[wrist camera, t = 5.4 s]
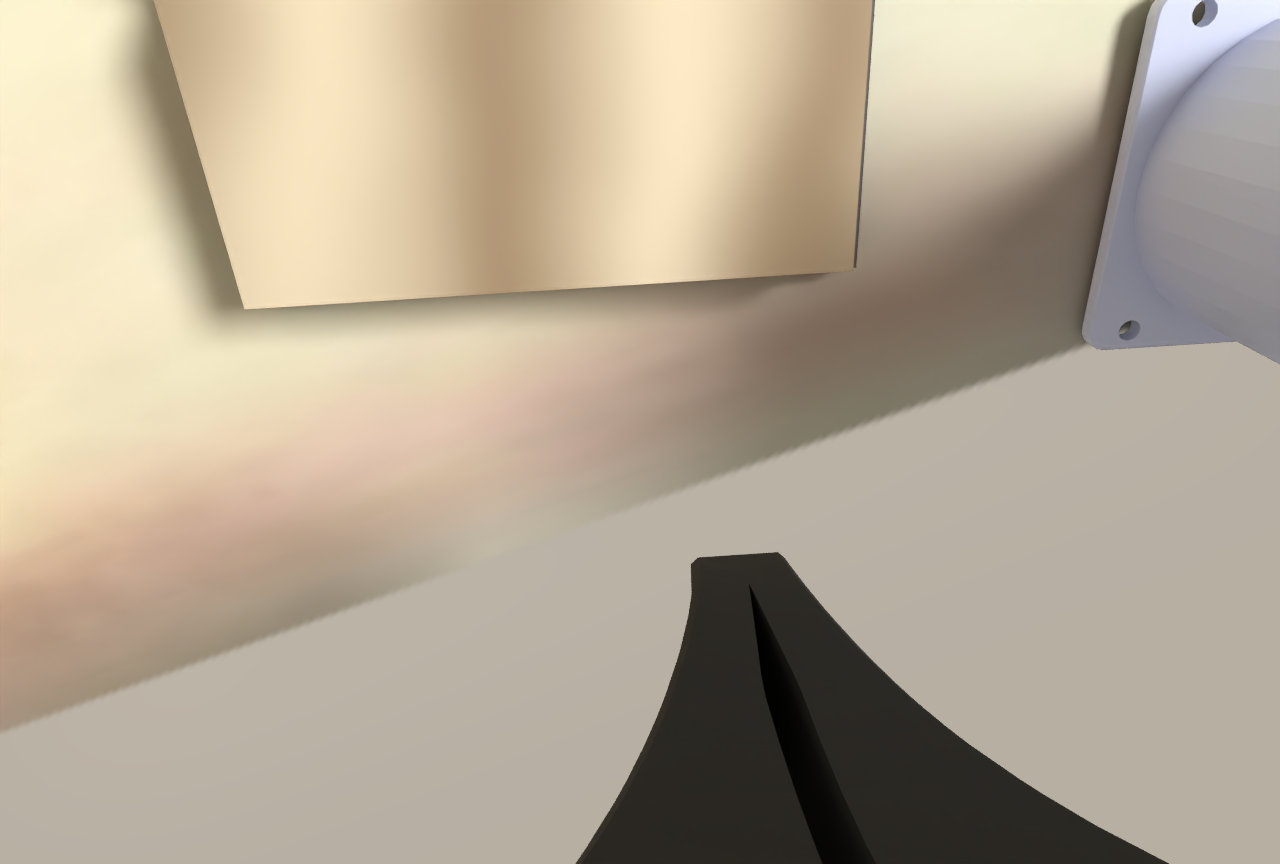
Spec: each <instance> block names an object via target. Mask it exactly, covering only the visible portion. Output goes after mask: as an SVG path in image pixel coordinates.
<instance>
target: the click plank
mask: <svg viewBox="0 0 1280 864" xmlns="http://www.w3.org/2000/svg"><path fill="white" fill-rule="evenodd" d="M154 3H155V7H156V10H157V14H158V17H159V20H160V24H161V27H162V31H163V34H164V38H165V41H166V44H167V48H168V51H169V55H170V58H171V61H172V65H173V68H174V72H175V75H176V78H177V82H178V85H179V89H180V92H181V95H182V99H183V102H184V106H185V109H186V112H187V116H188V119H189V123H190V126H191V129H192V133H193V136H194V140H195V143H196V146H197V150H198V153H199V157H200V160H201V163H202V167H203V170H204V174H205V177H206V180H207V184H208V187H209V191H210V194H211V197H212V201H213V204H214V208H215V211H216V214H217V218H218V221H219V225H220V228H221V231H222V235H223V238H224V242H225V245H226V249H227V252H228V255H229V259H230V262H231V266H232V269H233V272H234V276H235V279H236V283H237V286H238V289H239V293H240V296H241V300H242V303H243V306H244V309H260V308H276V307H291V306H307V305H323V304H339V303H355V302H371V301H386V300H402V299H418V298H434V297H450V296H466V295H481V294H497V293H513V292H529V291H545V290H561V289H576V288H592V287H608V286H624V285H640V284H656V283H671V282H687V281H703V280H719V279H735V278H750V277H766V276H782V275H798V274H814V273H830V272H845V271H853V266H854V252H855V238H856V224H857V210H858V196H859V182H860V168H861V154H862V140H863V126H864V112H865V98H866V84H867V70H868V56H869V42H870V28H871V14H872V0H154Z"/></svg>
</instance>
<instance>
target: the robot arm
mask: <svg viewBox="0 0 1280 864" xmlns="http://www.w3.org/2000/svg"><path fill="white" fill-rule="evenodd" d="M1201 1H1203V2H1204V4H1205V14H1204V16H1203V18H1202V20H1201V21H1200V22H1199V23H1198V24H1196V25H1195V24H1194V23H1193V22H1192V13H1193V11H1194V9H1195V6H1196V5H1198V4H1199V3H1200V2H1201ZM1128 321H1131V326H1130V328H1129V329H1128V330H1127V331H1126V332H1125V333H1123V334H1120V335H1119V330H1120V328H1121V326H1122V325H1123V324H1124V323H1126V322H1128ZM1082 336H1083V338H1084V340H1085V341H1086V342H1087V343H1089V344H1090V345H1092V346H1093V347H1095V348H1097V349H1101V350H1108V349H1109V350H1110V349H1125V348H1140V347H1156V346H1172V345H1187V344H1203V343H1218V342H1234V341H1237V342H1239V343H1241V344H1243V345H1245V346H1247V347H1249V348H1250V349H1252V350H1254V351H1256V352H1258V353H1260V354H1262V355H1264V356H1266V357H1267V358H1269V359H1271V360H1273V361H1275V362H1277V363H1279V364H1280V0H1155V1H1154V3H1153V4H1152V5H1151V7H1150V10H1149V13H1148V15H1147V20H1146V24H1145V29H1144V34H1143V39H1142V44H1141V48H1140V53H1139V58H1138V63H1137V68H1136V72H1135V77H1134V82H1133V87H1132V92H1131V96H1130V101H1129V106H1128V111H1127V116H1126V120H1125V125H1124V130H1123V135H1122V140H1121V144H1120V149H1119V154H1118V159H1117V164H1116V168H1115V173H1114V178H1113V183H1112V187H1111V192H1110V197H1109V202H1108V207H1107V211H1106V216H1105V221H1104V226H1103V231H1102V235H1101V240H1100V245H1099V250H1098V255H1097V259H1096V264H1095V269H1094V274H1093V279H1092V283H1091V288H1090V293H1089V298H1088V303H1087V307H1086V312H1085V317H1084V322H1083V327H1082ZM691 583H692V584H691V585H692V586H691V587H692V596H691V603H690V609H689V616H688V620H687V625H686V628H685V633H684V637H683V641H682V645H681V649H680V653H679V656H678V659H677V663H676V665H675V669H674V671H673V674H672V677H671V680H670V683H669V686H668V690H667V692H666V696H665V698H664V701H663V703H662V706H661V708H660V711H659V713H658V716H657V718H656V721H655V723H654V725H653V727H652V730H651V732H650V734H649V736H648V739H647V741H646V743H645V745H644V747H643V750H642V752H641V753H640V755H639V757H638V759H637V761H636V763H635V765H634V767H633V770H632V771H631V773H630V775H629V777H628V779H627V781H626V783H625V785H624V787H623V788H622V790H621V792H620V794H619V796H618V797H617V799H616V801H615V803H614V804H613V806H612V808H611V809H610V811H609V812H608V814H607V816H606V817H605V819H604V821H603V822H602V824H601V825H600V827H599V828H598V830H597V832H596V833H595V835H594V837H593V838H592V840H591V841H590V843H589V844H588V846H587V848H586V849H585V851H584V852H583V854H582V855H581V857H580V858H579V859H578V861H577V862H576V864H1169V863H1167V862H1165V861H1163V860H1161V859H1159V858H1157V857H1155V856H1153V855H1151V854H1149V853H1147V852H1146V851H1144V850H1142V849H1140V848H1138V847H1136V846H1134V845H1132V844H1130V843H1128V842H1126V841H1124V840H1123V839H1121V838H1119V837H1117V836H1114V835H1113V834H1111V833H1109V832H1107V831H1105V830H1103V829H1101V828H1099V827H1097V826H1096V825H1094V824H1092V823H1091V822H1089V821H1087V820H1085V819H1084V818H1082V817H1080V816H1079V815H1077V814H1075V813H1074V812H1072V811H1070V810H1069V809H1067V808H1065V807H1064V806H1062V805H1060V804H1058V803H1057V802H1055V801H1054V800H1052V799H1050V798H1048V797H1047V796H1045V795H1043V794H1042V793H1040V792H1039V791H1037V790H1035V789H1034V788H1032V787H1031V786H1029V785H1028V784H1026V783H1024V782H1023V781H1022V780H1020V779H1018V778H1017V777H1016V776H1014V775H1013V774H1011V773H1010V772H1008V771H1007V770H1005V769H1004V768H1003V767H1001V766H1000V765H998V764H997V763H995V762H994V761H992V760H991V759H990V758H988V757H987V756H985V755H983V754H982V753H981V752H979V751H978V750H977V749H975V748H974V747H972V746H971V745H969V744H968V743H967V742H965V741H964V740H963V739H961V738H960V737H959V736H957V735H956V734H955V733H954V732H952V731H951V730H950V729H948V728H947V727H946V726H944V725H943V724H942V723H941V722H940V721H939V720H937V719H936V718H935V717H934V716H932V715H931V714H930V713H929V712H928V711H927V710H925V709H924V708H923V707H922V706H921V705H919V704H918V703H917V702H916V701H915V700H914V699H913V698H911V697H910V696H909V695H908V694H907V693H906V692H905V691H904V690H902V689H901V688H900V687H899V686H898V685H897V684H896V683H895V682H894V681H893V680H892V679H891V678H890V677H889V676H888V675H887V674H886V673H885V672H884V671H883V670H882V669H880V668H879V667H878V666H877V665H876V664H875V663H874V662H873V661H872V660H871V659H870V658H869V657H868V656H867V655H866V654H865V653H864V651H862V650H861V648H860V647H859V646H858V645H857V644H856V643H855V642H854V641H853V640H852V639H851V638H850V637H849V635H848V634H847V633H846V632H845V631H844V630H843V629H842V628H841V627H840V626H839V625H838V624H837V622H836V621H835V620H834V619H833V618H832V617H831V616H830V614H829V613H828V612H827V611H826V610H825V609H824V608H823V606H822V605H821V604H820V603H819V602H818V600H817V599H816V598H815V597H814V595H813V594H812V593H811V592H810V591H809V589H808V588H807V587H806V586H805V584H804V583H803V582H802V581H801V579H800V578H799V577H798V575H797V574H796V573H795V571H794V570H793V569H792V567H791V566H790V565H789V563H788V562H787V561H786V559H785V558H784V557H783V556H782V555H780V554H779V553H778V552H775V553H761V554H747V555H730V556H715V557H702V558H701V557H700V558H697V559H696V560H695V561H694V562H693V563H692V564H691Z"/></svg>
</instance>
